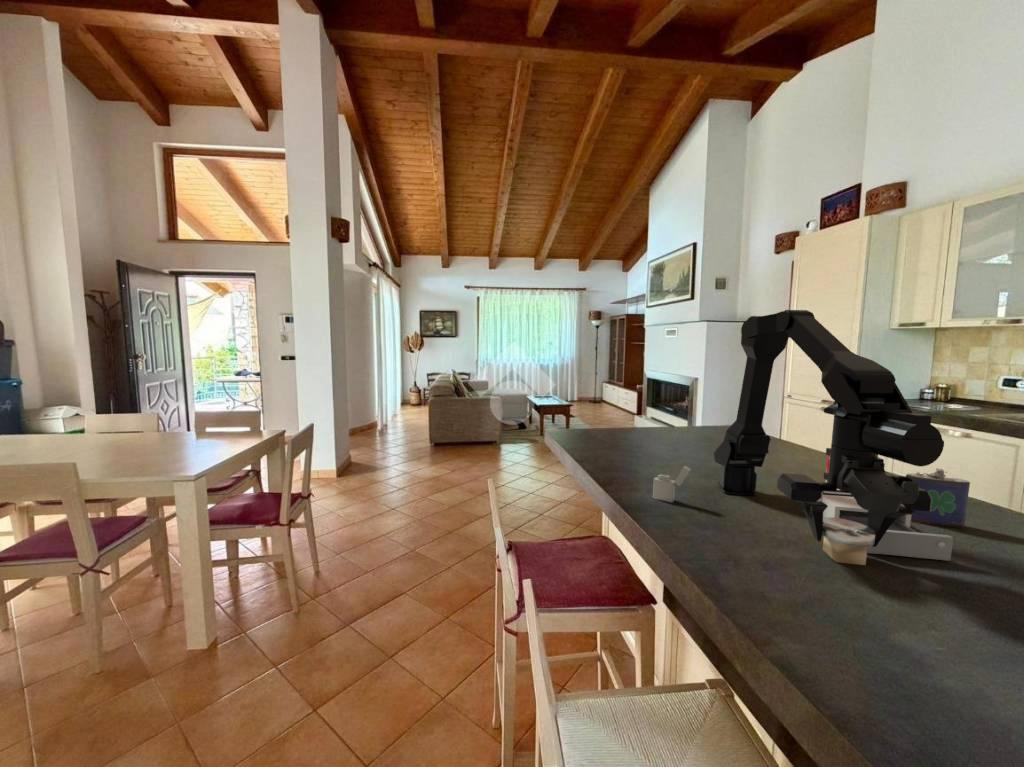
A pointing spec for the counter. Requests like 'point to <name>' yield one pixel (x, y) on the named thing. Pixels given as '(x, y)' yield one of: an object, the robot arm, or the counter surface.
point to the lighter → (668, 485)
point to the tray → (908, 541)
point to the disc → (848, 532)
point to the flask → (943, 499)
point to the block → (845, 552)
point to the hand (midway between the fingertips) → (844, 543)
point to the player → (850, 508)
